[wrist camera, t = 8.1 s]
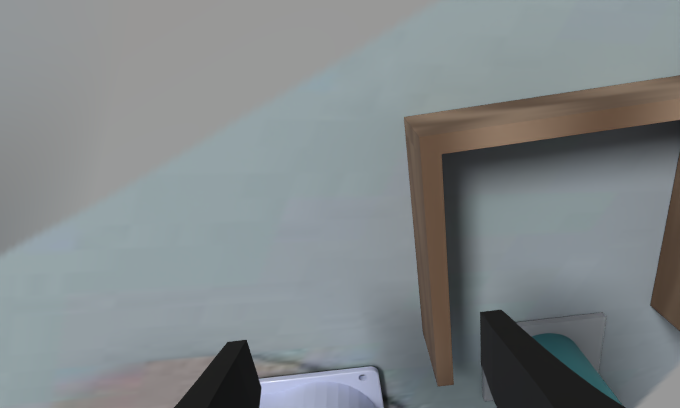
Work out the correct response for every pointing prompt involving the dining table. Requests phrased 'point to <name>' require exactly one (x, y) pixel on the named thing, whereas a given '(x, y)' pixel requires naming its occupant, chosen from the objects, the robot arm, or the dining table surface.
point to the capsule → (573, 360)
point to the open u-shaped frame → (516, 127)
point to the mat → (577, 328)
